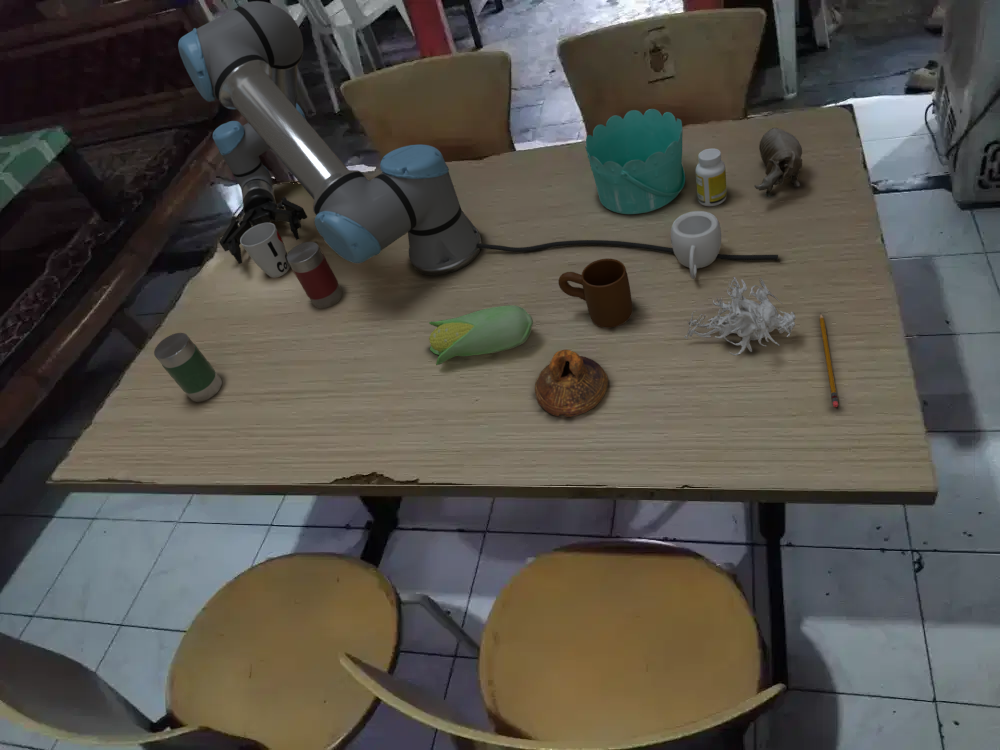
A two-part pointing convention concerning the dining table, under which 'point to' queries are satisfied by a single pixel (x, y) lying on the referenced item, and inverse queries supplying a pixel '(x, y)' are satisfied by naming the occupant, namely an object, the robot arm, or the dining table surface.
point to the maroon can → (315, 274)
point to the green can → (188, 367)
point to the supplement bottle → (711, 178)
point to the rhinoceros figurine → (779, 158)
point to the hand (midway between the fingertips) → (266, 246)
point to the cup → (266, 249)
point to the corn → (480, 332)
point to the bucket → (637, 161)
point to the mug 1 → (602, 291)
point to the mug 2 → (696, 239)
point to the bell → (570, 384)
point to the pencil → (828, 362)
